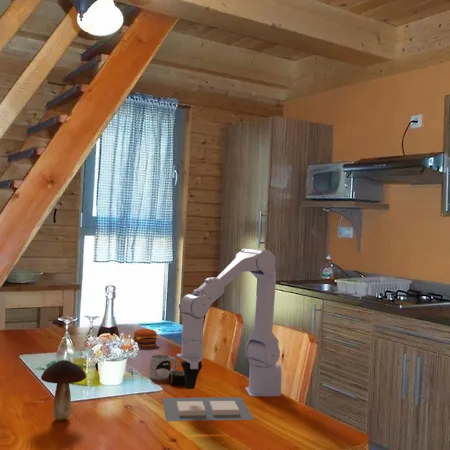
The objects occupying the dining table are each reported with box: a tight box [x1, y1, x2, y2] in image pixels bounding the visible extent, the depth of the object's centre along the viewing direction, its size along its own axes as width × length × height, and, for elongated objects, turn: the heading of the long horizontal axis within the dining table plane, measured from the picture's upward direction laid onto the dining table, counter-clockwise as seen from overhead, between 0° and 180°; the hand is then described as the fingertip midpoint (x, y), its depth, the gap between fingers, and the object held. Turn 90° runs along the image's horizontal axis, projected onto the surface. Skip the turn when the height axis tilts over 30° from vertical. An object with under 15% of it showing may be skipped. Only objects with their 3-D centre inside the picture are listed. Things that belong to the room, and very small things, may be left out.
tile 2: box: [177, 401, 206, 416], centre depth 154 cm, size 7×2×7 cm
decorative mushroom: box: [40, 359, 87, 421], centre depth 145 cm, size 11×11×15 cm
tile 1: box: [209, 401, 239, 416], centre depth 156 cm, size 7×2×7 cm
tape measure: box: [167, 370, 186, 386], centre depth 179 cm, size 7×7×4 cm
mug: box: [149, 353, 178, 381], centre depth 187 cm, size 10×7×7 cm
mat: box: [161, 396, 255, 422], centre depth 157 cm, size 23×18×1 cm
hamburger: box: [131, 327, 160, 349], centre depth 228 cm, size 9×10×7 cm
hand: (190, 388), depth 157 cm, fingers closed
